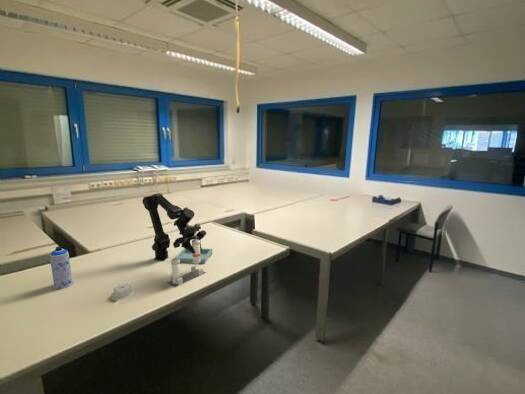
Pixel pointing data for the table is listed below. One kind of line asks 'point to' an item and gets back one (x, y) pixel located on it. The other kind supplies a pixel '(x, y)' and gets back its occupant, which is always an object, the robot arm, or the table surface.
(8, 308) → the table surface
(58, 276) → the aerosol can
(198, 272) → the fuse holder
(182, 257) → the tray
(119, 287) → the mechanical component
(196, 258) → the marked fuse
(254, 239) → the table surface
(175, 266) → the fuse
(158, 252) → the robot arm
